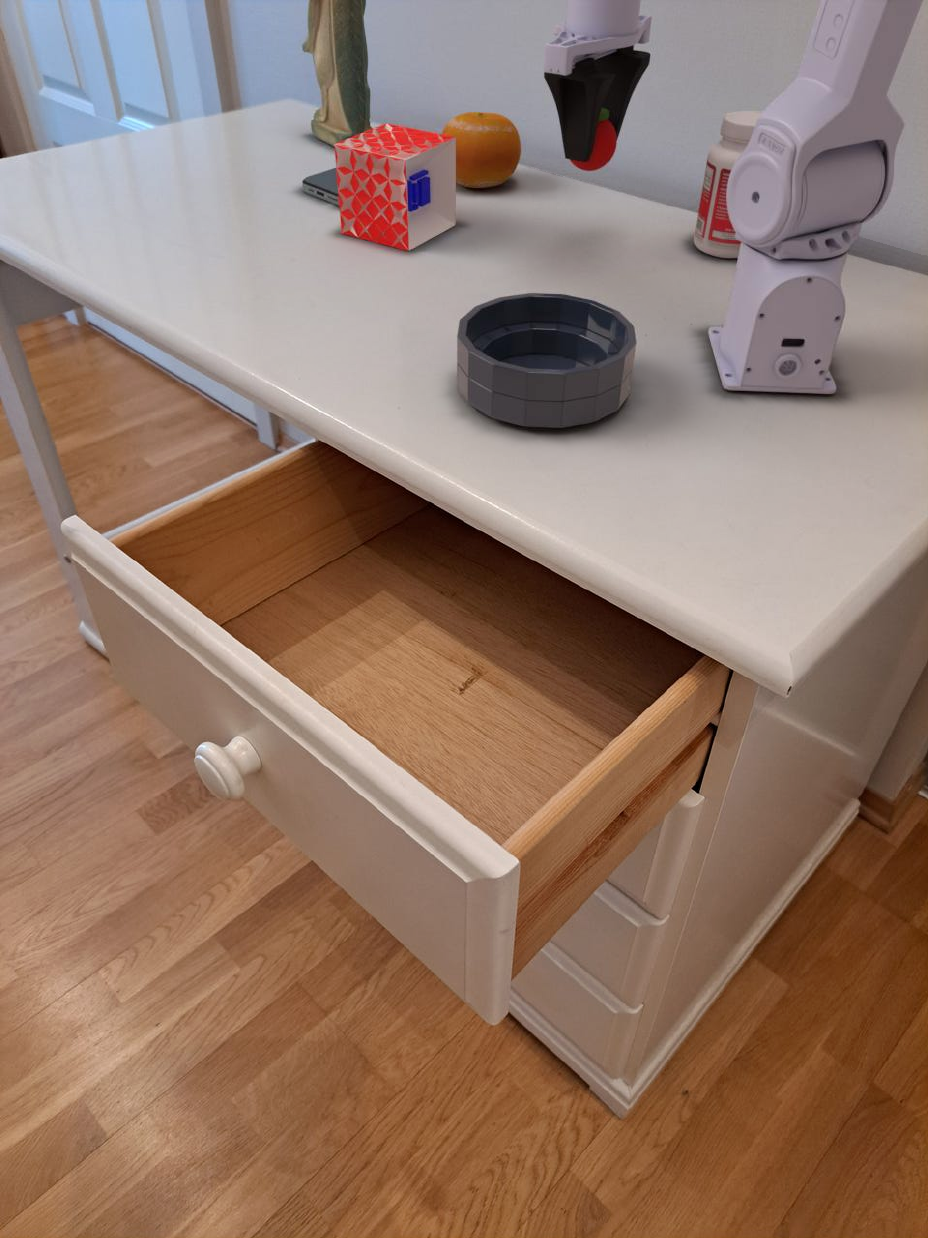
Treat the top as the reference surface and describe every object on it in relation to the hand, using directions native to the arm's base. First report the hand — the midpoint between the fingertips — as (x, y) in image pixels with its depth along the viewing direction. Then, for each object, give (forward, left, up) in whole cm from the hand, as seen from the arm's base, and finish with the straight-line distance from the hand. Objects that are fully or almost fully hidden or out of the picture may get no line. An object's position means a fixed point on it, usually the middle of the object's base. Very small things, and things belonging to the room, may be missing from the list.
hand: (590, 152), depth 80 cm
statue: (+31, +28, -9) cm, 43 cm away
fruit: (+17, +11, -9) cm, 22 cm away
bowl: (-27, +4, -8) cm, 28 cm away
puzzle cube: (+3, +18, -9) cm, 20 cm away
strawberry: (0, 0, -1) cm, 1 cm away
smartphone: (+16, +22, -9) cm, 28 cm away
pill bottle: (+1, -13, -9) cm, 16 cm away
